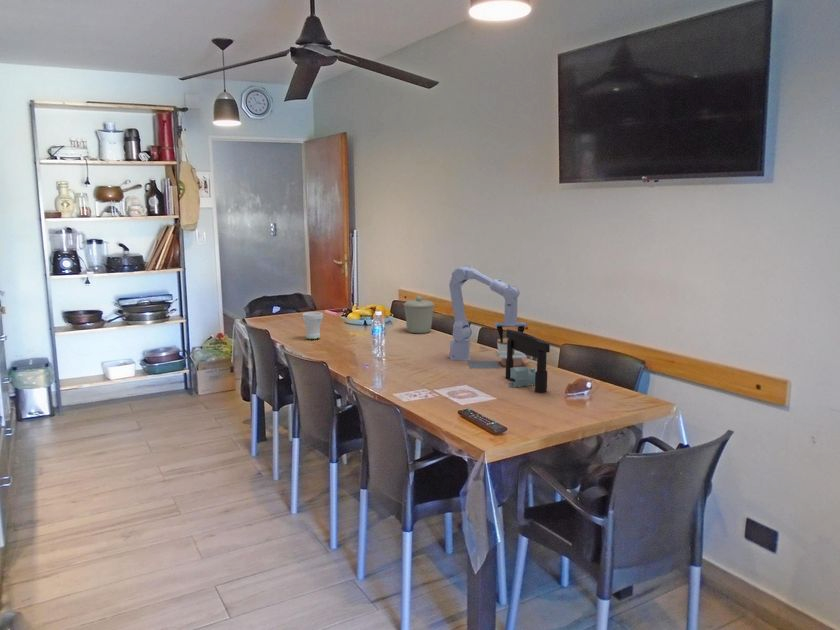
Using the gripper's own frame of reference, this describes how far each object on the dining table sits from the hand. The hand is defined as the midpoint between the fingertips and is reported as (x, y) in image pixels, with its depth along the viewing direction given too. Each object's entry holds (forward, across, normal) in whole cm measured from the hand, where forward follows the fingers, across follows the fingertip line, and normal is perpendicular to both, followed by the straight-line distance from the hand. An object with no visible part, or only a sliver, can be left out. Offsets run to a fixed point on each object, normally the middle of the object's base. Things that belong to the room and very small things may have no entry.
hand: (510, 342), depth 302 cm
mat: (+10, -12, -2) cm, 16 cm away
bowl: (+10, +1, -1) cm, 10 cm away
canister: (+11, -41, +78) cm, 89 cm away
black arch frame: (+10, +2, -34) cm, 35 cm away
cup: (+11, -99, +58) cm, 116 cm away
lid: (+6, +1, -1) cm, 6 cm away
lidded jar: (+11, +2, +18) cm, 21 cm away
